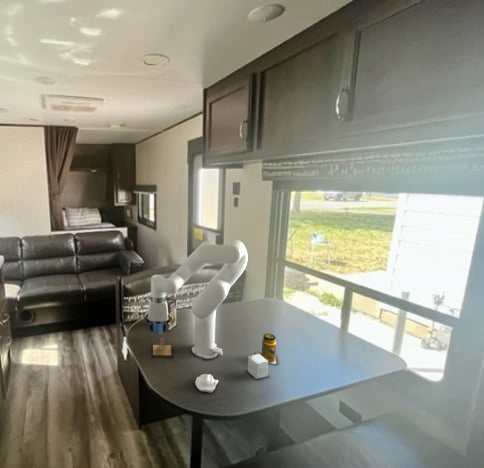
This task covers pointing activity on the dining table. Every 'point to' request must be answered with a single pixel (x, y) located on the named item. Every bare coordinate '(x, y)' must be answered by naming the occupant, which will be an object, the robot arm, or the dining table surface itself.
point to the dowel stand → (161, 348)
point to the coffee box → (171, 312)
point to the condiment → (269, 348)
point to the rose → (206, 383)
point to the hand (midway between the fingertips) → (157, 330)
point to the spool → (158, 327)
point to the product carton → (257, 366)
